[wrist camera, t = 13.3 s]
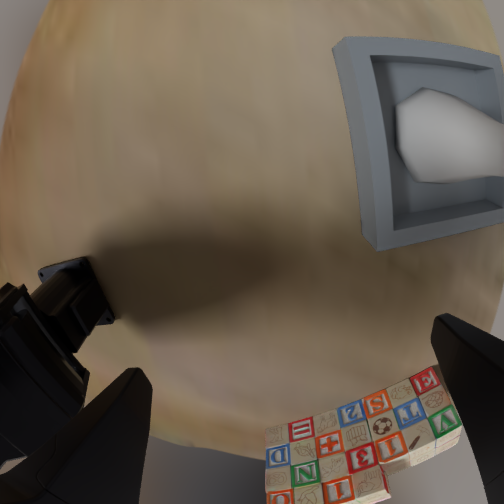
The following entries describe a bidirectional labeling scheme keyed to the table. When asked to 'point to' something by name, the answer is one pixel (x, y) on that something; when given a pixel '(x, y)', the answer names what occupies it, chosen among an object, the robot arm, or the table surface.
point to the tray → (384, 136)
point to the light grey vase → (447, 139)
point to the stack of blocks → (360, 444)
